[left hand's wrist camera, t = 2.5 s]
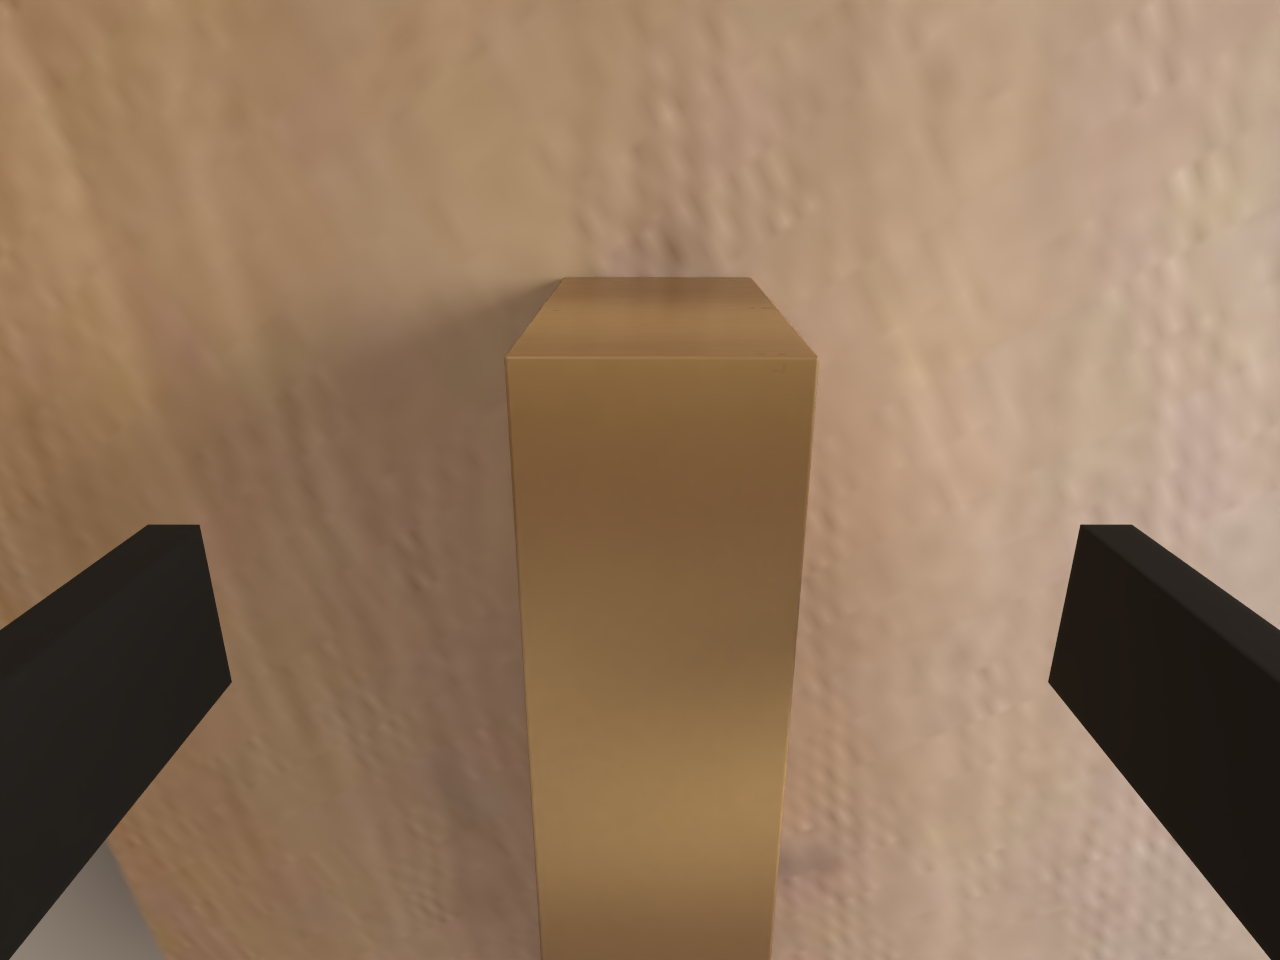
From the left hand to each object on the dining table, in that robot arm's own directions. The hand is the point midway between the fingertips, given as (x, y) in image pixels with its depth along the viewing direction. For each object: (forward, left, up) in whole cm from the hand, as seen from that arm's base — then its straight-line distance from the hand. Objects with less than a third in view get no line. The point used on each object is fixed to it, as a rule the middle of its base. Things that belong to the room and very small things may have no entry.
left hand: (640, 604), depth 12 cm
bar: (+8, 0, -9) cm, 12 cm away
